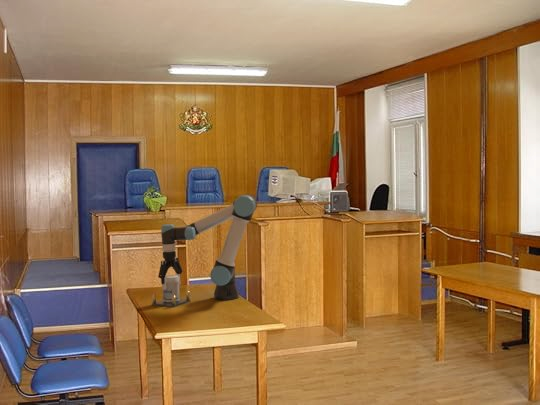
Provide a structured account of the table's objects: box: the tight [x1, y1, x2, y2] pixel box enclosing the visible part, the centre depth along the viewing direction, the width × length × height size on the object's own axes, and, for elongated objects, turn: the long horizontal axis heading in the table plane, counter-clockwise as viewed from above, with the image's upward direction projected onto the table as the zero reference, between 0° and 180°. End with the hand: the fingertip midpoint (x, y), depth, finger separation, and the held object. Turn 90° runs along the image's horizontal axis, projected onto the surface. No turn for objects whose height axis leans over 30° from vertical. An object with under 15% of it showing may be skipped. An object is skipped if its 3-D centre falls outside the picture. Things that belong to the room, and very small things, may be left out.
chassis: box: [151, 290, 191, 308], centre depth 358 cm, size 16×16×6 cm
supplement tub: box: [162, 274, 180, 303], centre depth 357 cm, size 10×10×15 cm
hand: (171, 287), depth 357 cm, fingers open, 13 cm apart
